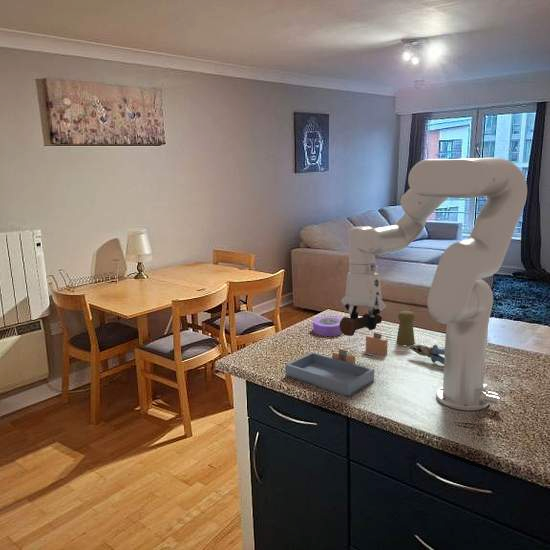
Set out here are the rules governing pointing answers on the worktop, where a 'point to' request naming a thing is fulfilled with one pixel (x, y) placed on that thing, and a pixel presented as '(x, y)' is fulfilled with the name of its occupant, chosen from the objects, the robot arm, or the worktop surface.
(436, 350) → the pliers
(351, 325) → the bolt
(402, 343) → the cork
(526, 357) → the worktop surface
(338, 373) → the tray
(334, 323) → the masking tape
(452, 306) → the robot arm
